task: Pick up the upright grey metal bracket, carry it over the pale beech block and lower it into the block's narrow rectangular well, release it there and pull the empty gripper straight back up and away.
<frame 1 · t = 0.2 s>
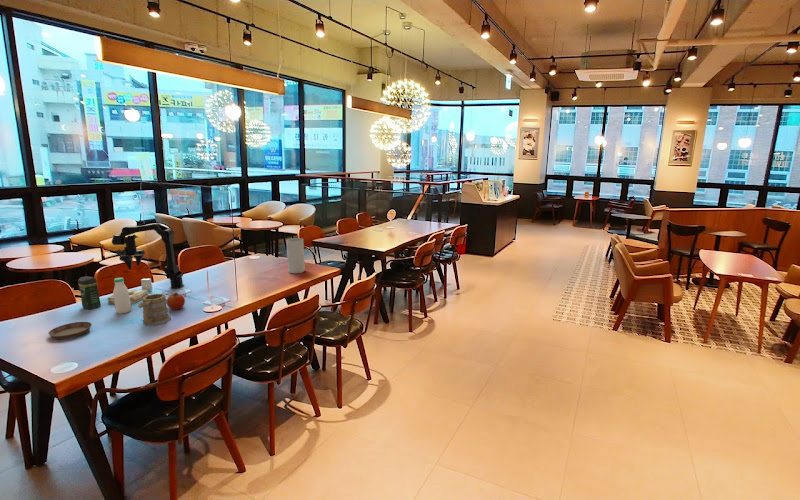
hand: (134, 267, 289), 14 cm above the table, fingers open, 9 cm apart
cylinder vase: (296, 271, 329), on the table
tankard: (153, 323, 231), on the table
bracket: (147, 290, 285), on the table
fruit: (176, 308, 253), on the table
plant saucer: (71, 334, 219), on the table
coffee jar: (92, 307, 256), on the table
well block: (128, 299, 269), on the table
milk bottle: (123, 311, 248), on the table
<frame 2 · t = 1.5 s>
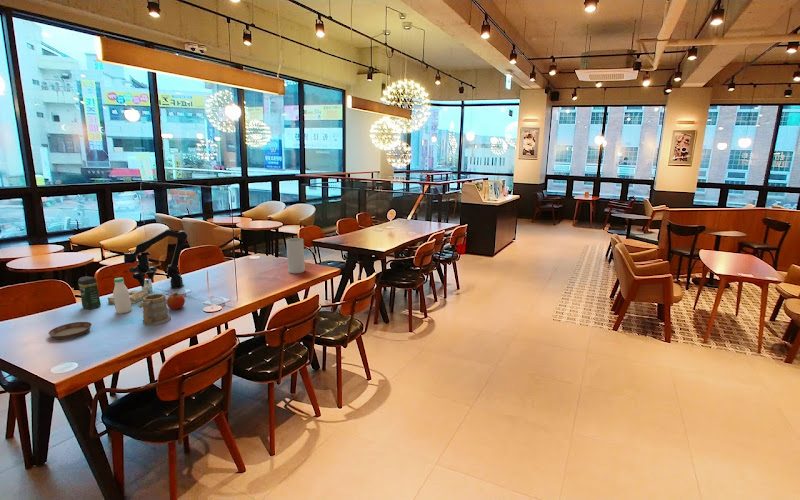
hand: (146, 284, 284), 4 cm above the table, fingers open, 9 cm apart
nothing on the table moved.
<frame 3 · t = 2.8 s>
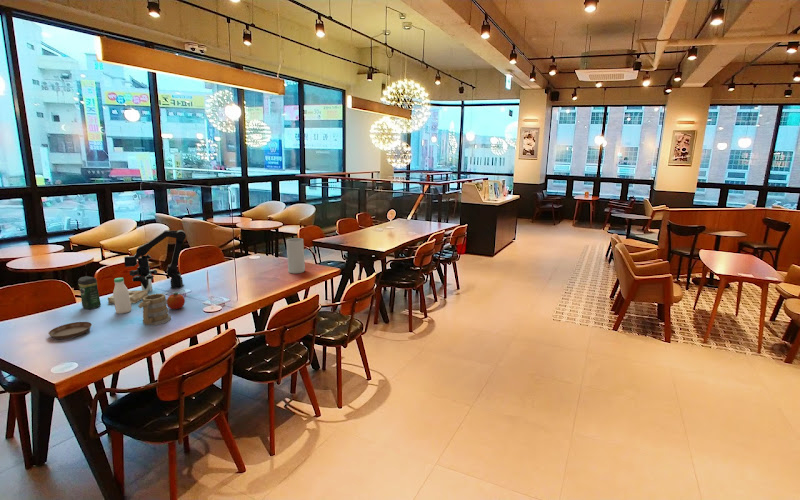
hand: (147, 287, 285), 2 cm above the table, fingers closed on bracket, 3 cm apart
bracket: (147, 290, 285), on the table, touching gripper
everything else where it was.
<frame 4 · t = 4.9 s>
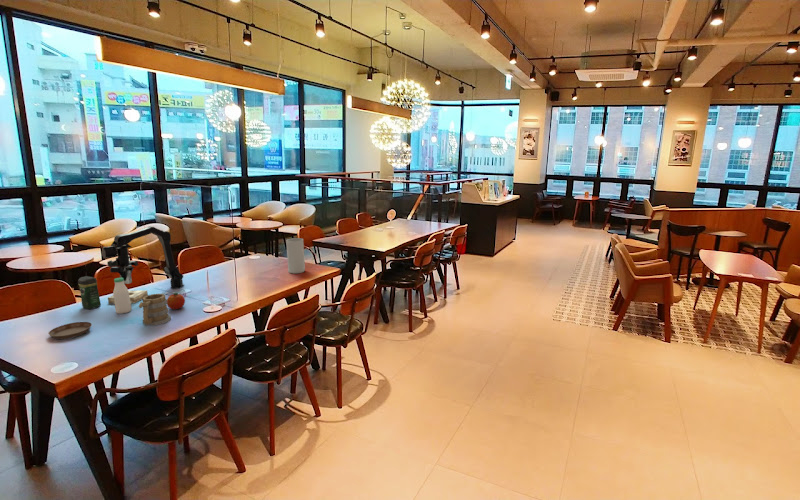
hand: (126, 279, 267), 12 cm above the table, fingers closed on bracket, 3 cm apart
bracket: (126, 283, 267), point 10 cm above the table, touching gripper
everything else where it was.
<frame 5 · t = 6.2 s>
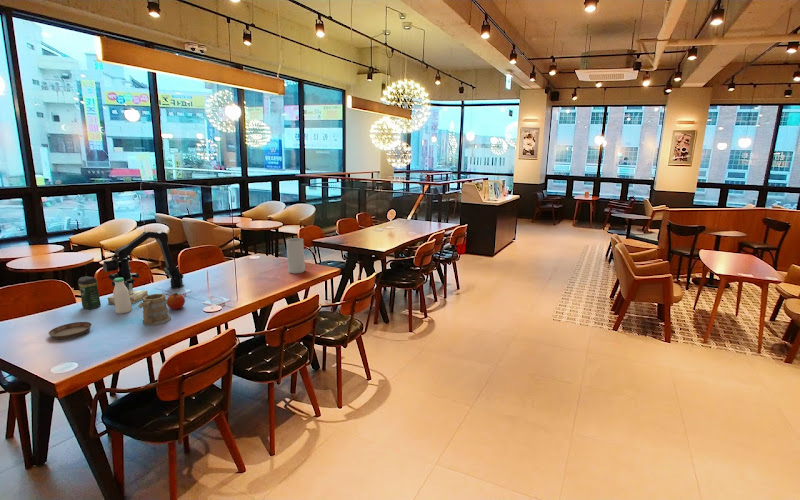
hand: (127, 292, 268), 4 cm above the table, fingers closed on bracket, 3 cm apart
bracket: (128, 295, 268), point 2 cm above the table, touching gripper
everything else where it was.
when the fingers open (4 cm above the table, at t = 6.9 s): bracket drops 2 cm, resting in well block.
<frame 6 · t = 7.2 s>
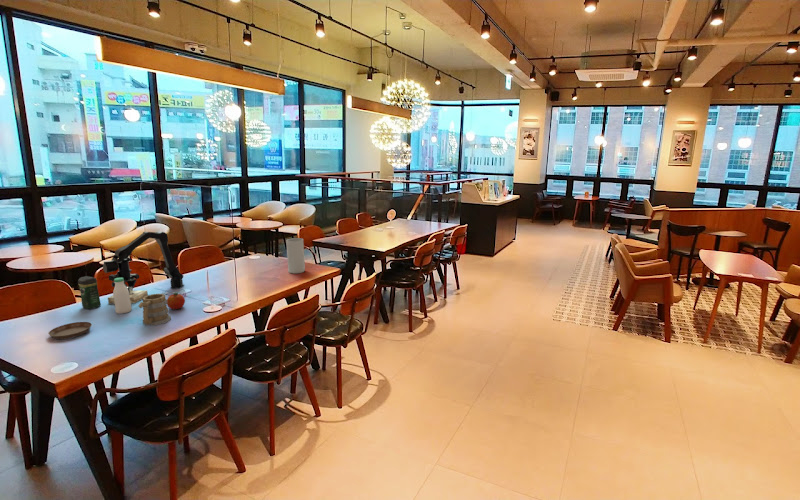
hand: (127, 293, 268), 4 cm above the table, fingers open, 6 cm apart
bracket: (128, 299, 269), resting in well block
everything else where it was.
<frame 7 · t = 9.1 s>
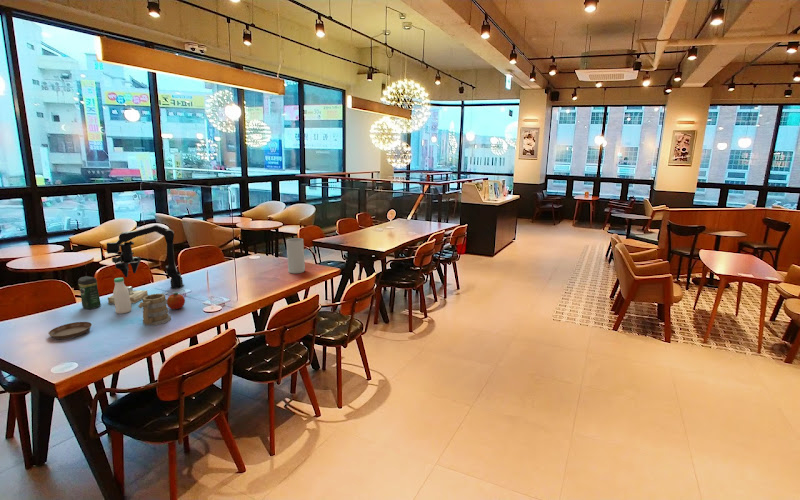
hand: (130, 275, 279), 12 cm above the table, fingers open, 9 cm apart
nothing on the table moved.
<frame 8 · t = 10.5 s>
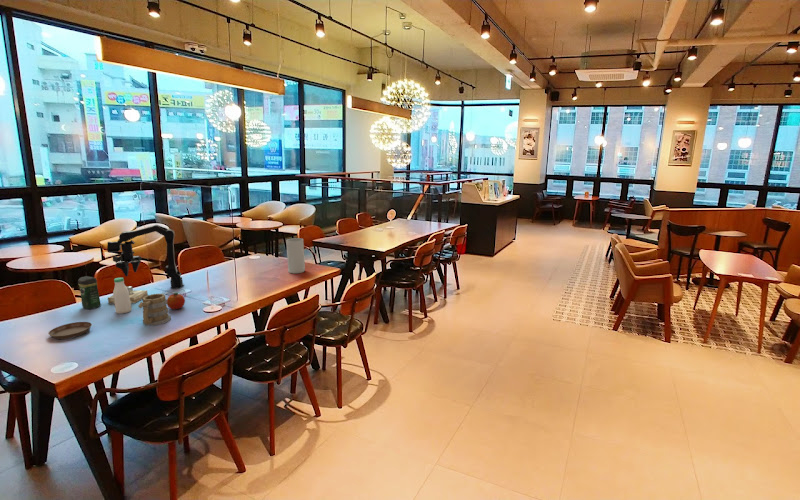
hand: (130, 274, 280), 12 cm above the table, fingers open, 9 cm apart
nothing on the table moved.
at the end: bracket 0.1 cm off-centre on the well block, point 0.0 cm above the well block's base; bracket resting in well block; the gripper is holding nothing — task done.
